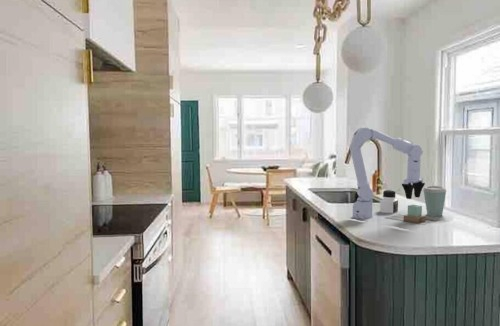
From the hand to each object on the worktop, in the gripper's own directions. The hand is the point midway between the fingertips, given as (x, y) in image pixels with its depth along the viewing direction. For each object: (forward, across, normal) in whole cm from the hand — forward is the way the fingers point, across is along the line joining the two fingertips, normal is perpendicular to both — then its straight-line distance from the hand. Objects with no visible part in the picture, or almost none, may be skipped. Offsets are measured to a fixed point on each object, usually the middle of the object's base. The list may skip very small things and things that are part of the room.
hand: (413, 198), depth 200 cm
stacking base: (+10, -5, -2) cm, 12 cm away
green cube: (+7, -7, -5) cm, 11 cm away
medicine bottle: (+11, +5, +16) cm, 20 cm away
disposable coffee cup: (+11, +15, -3) cm, 19 cm away
